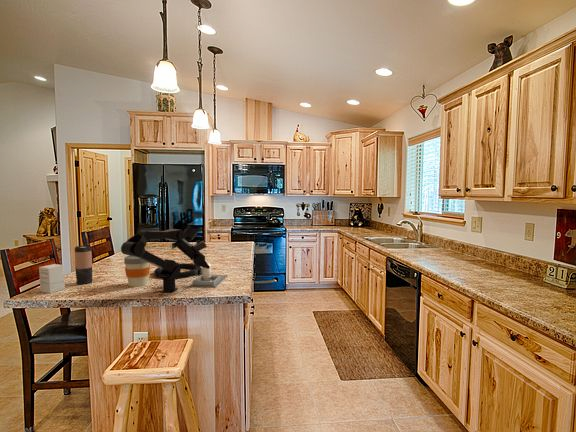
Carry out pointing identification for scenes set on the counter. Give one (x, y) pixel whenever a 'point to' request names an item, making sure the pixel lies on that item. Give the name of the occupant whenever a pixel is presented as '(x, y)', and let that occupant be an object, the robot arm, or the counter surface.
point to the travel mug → (83, 264)
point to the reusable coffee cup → (136, 271)
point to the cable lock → (196, 271)
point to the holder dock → (216, 281)
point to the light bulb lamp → (207, 273)
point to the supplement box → (51, 278)
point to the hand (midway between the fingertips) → (207, 266)
